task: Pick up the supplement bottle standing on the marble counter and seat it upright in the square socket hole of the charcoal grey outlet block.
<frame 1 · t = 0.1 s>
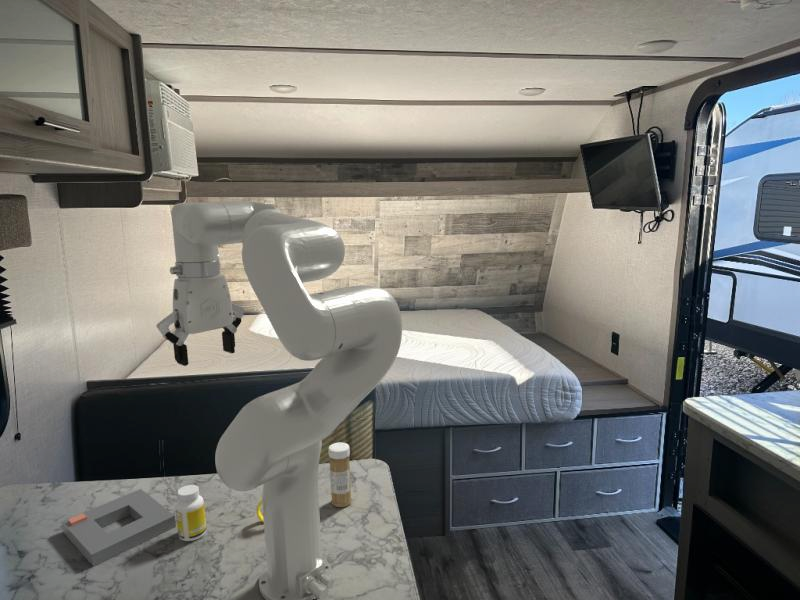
hand: (206, 357, 105), 37 cm above the table, tool pointing down, fingers open, 9 cm apart
outlet block: (120, 529, 112), on the table
supplement bottle: (192, 534, 111), on the table
watch: (272, 522, 114), on the table
sprinkles bottle: (341, 503, 121), on the table
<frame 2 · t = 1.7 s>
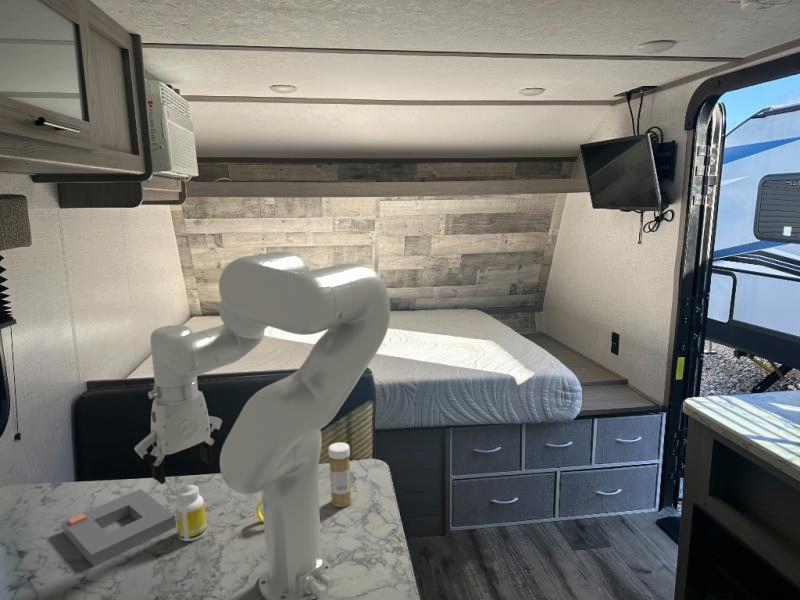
hand: (183, 471, 108), 14 cm above the table, tool pointing down, fingers open, 9 cm apart
nothing on the table moved.
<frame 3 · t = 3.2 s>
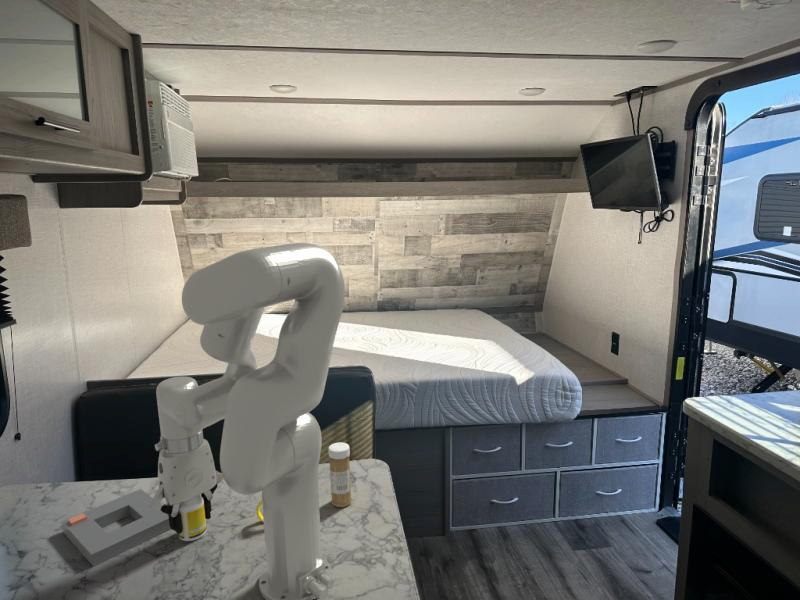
hand: (191, 522, 110), 3 cm above the table, tool pointing down, fingers closed on supplement bottle, 5 cm apart
supplement bottle: (192, 534, 111), on the table, touching gripper
everything else where it was.
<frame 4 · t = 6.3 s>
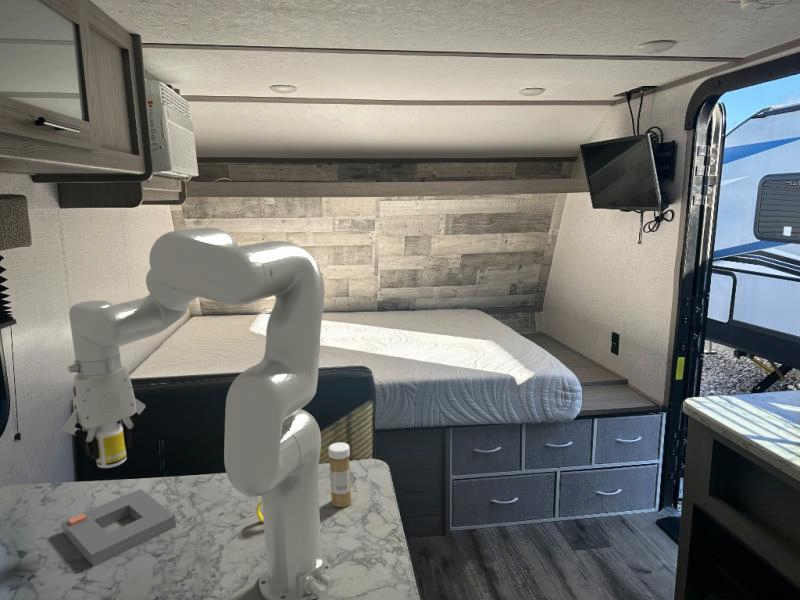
hand: (110, 450, 109), 18 cm above the table, tool pointing down, fingers closed on supplement bottle, 5 cm apart
supplement bottle: (112, 463, 109), point 15 cm above the table, touching gripper
everything else where it was.
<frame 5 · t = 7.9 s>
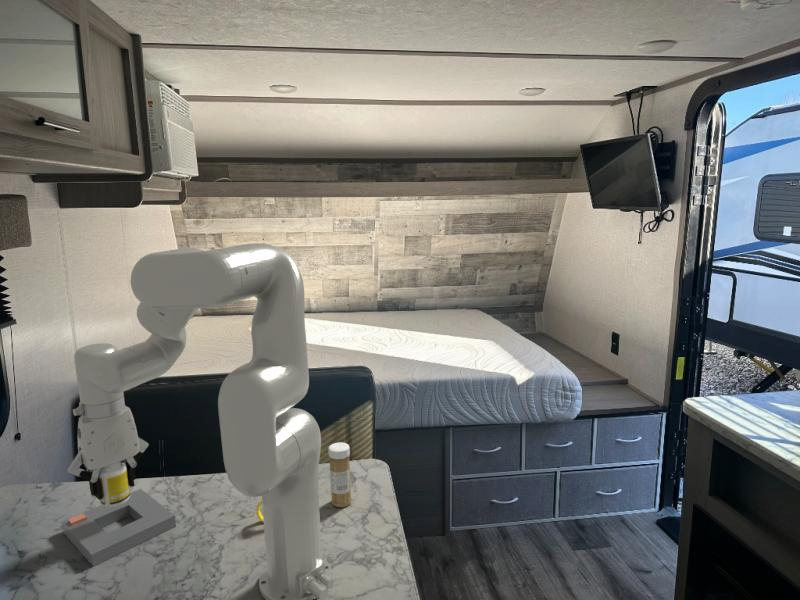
hand: (114, 489, 111), 9 cm above the table, tool pointing down, fingers closed on supplement bottle, 5 cm apart
supplement bottle: (115, 501, 111), point 6 cm above the table, touching gripper
everything else where it was.
when the fingers open (4 cm above the table, at t = 9.3 s): supplement bottle drops 1 cm, resting in outlet block.
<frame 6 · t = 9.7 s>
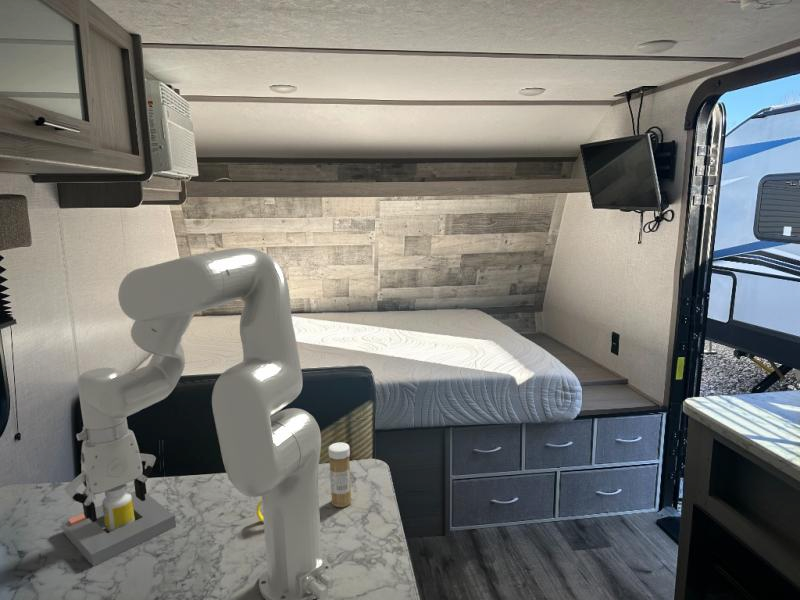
hand: (117, 508, 111), 5 cm above the table, tool pointing down, fingers open, 9 cm apart
supplement bottle: (121, 530, 112), resting in outlet block
everything else where it was.
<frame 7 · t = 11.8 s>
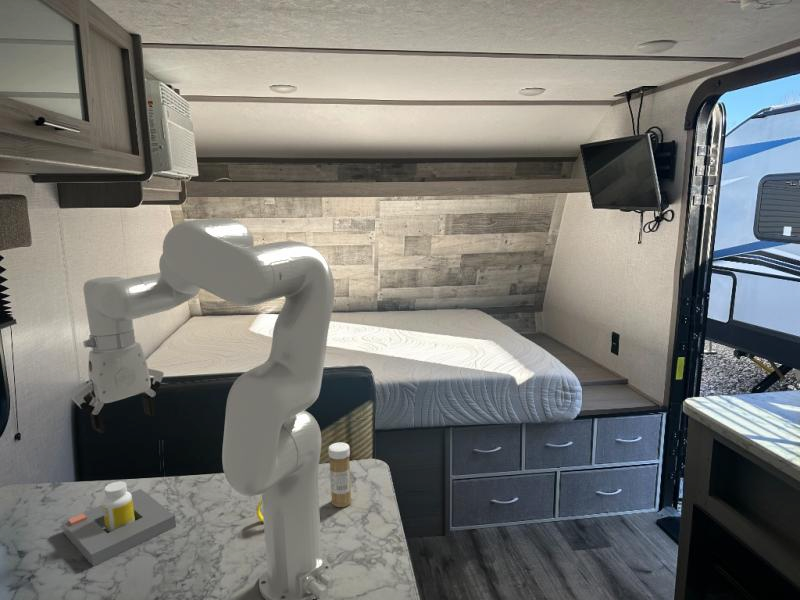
hand: (125, 422, 110), 23 cm above the table, tool pointing down, fingers open, 9 cm apart
nothing on the table moved.
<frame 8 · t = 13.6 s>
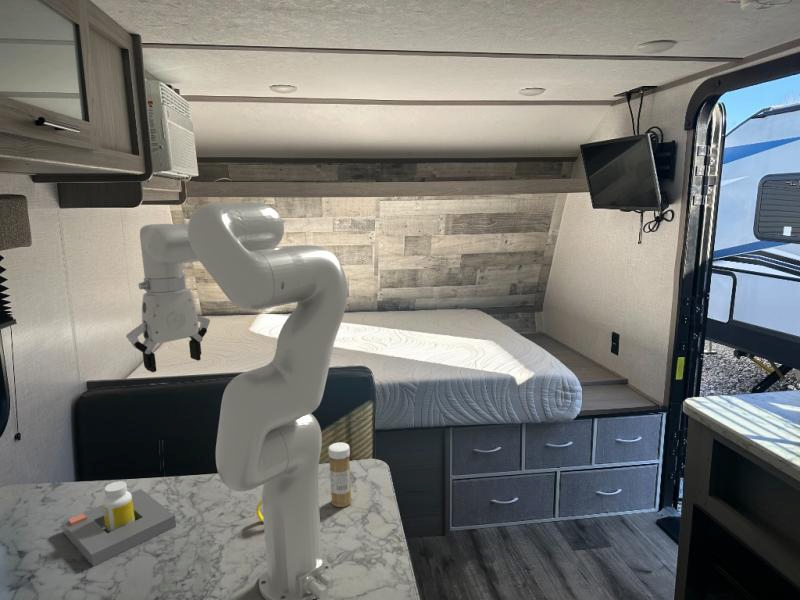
hand: (174, 364, 115), 32 cm above the table, tool pointing down, fingers open, 9 cm apart
nothing on the table moved.
at the end: supplement bottle 0.2 cm off-centre on the outlet block, point 0.0 cm above the outlet block's base; supplement bottle tilted 0°; the gripper is holding nothing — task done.
